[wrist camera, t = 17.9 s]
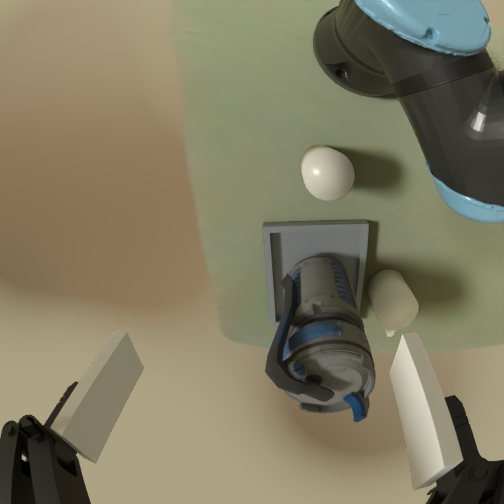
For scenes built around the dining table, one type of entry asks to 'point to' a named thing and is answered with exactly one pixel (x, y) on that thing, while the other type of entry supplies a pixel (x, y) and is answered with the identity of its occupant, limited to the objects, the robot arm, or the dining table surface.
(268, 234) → the tray
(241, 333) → the dining table surface
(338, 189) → the cream rounded capsule
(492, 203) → the robot arm
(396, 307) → the white mug
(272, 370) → the beverage bottle
